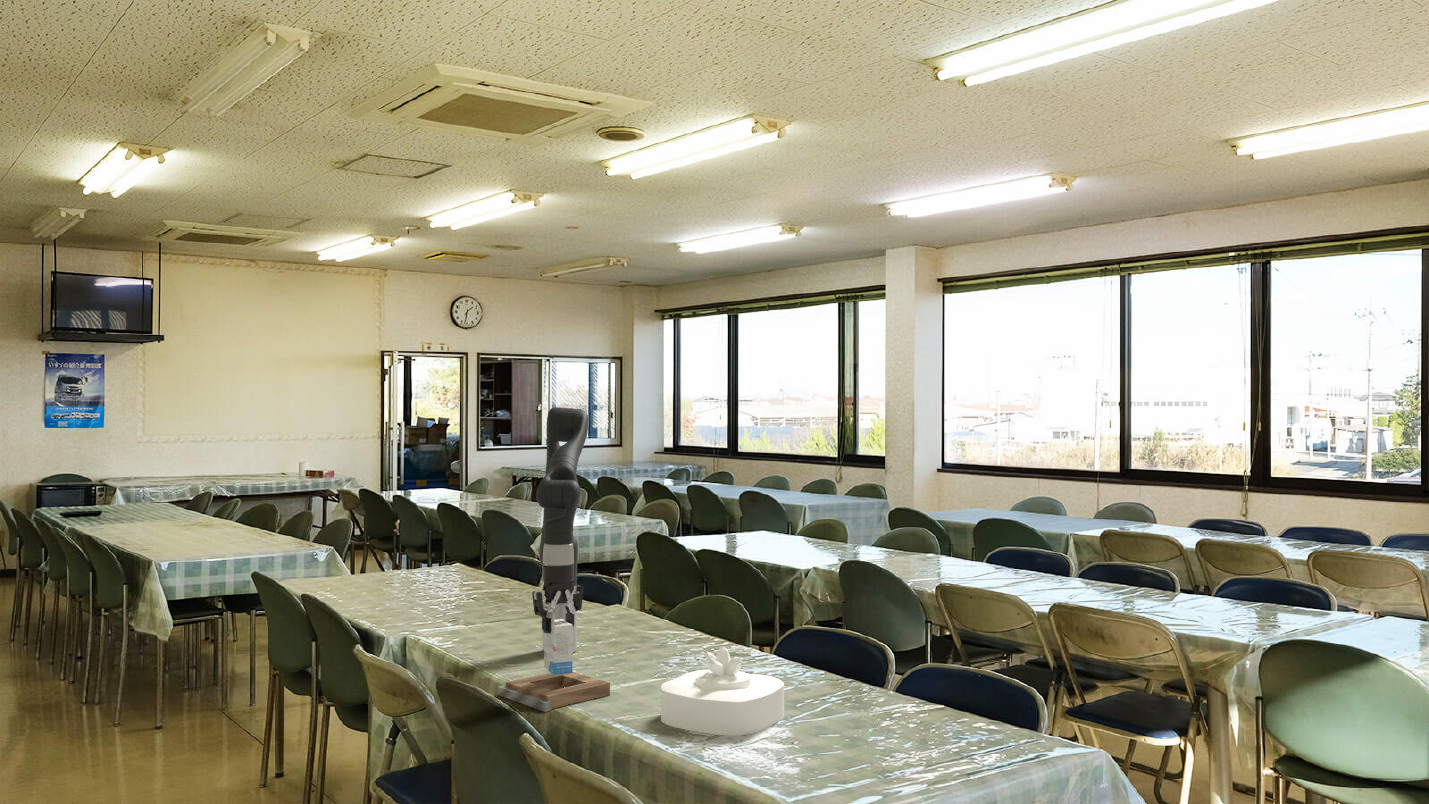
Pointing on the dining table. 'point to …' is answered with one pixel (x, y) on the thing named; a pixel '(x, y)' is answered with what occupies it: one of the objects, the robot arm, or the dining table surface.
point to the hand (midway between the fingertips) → (558, 630)
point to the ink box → (558, 647)
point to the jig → (545, 699)
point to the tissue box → (722, 699)
